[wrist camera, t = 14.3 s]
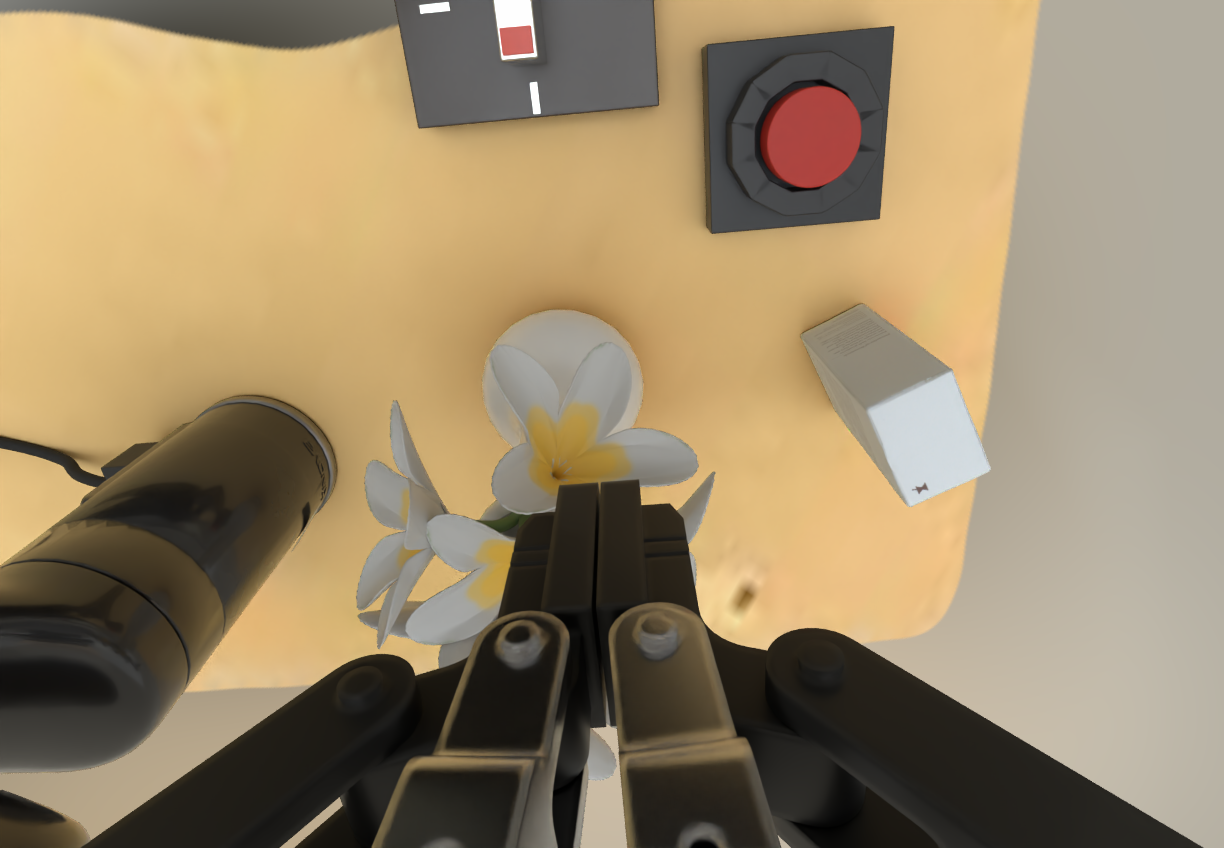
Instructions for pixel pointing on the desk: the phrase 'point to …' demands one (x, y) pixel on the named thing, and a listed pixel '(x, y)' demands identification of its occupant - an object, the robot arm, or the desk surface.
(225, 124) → the desk surface
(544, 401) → the flower vase
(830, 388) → the cosmetic box
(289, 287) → the desk surface
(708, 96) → the button box
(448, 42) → the rotary lever switch
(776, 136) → the button
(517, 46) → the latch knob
